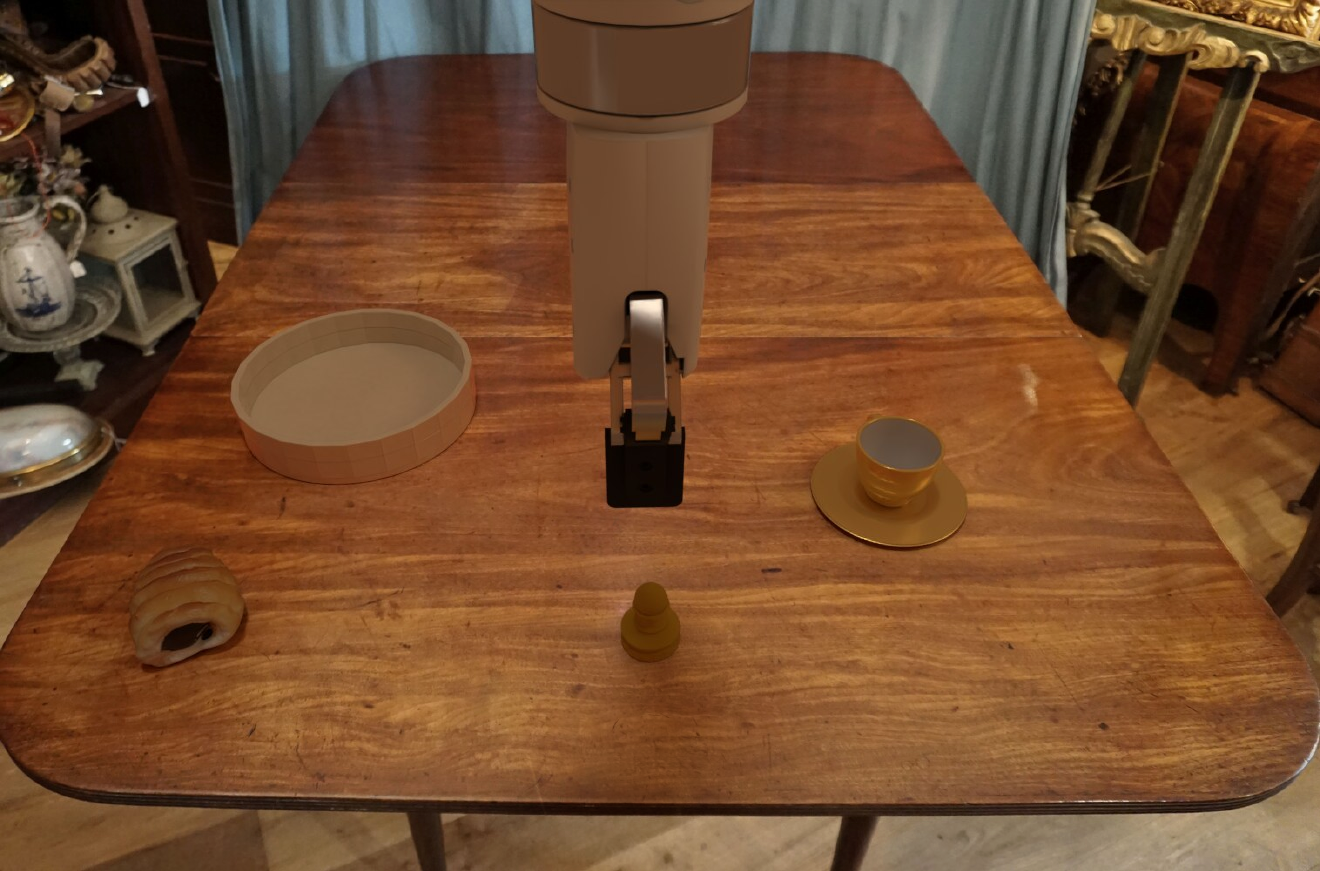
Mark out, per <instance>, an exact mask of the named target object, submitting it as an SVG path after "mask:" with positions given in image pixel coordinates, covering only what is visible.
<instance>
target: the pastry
mask: <svg viewBox="0 0 1320 871" xmlns="http://www.w3.org/2000/svg"><path fill="white" fill-rule="evenodd" d="M238 585H239V584H238V581H237V577H236V575H235V574H233V573H232V572H231V570H230V568H229V567H228V566H227V565H226V564H225V563H224V562H223V561H222V559H221V558H219V557H217V556H216V555H215V554H214V553H213V550H212V549H210V548H208V547H207V546H205V545H203V544H201V543H194V542H192V543H187V544H181V545H178V546H166V547H162V548H161V549H160V550H159V551H158V552H157V553H155V554H154V555H153V556H152V557H151V558H150V560H149V561H148V563H147V564H146V565H145V567H144V568H142V569H141V570H140V571H139V573H138V576H137V581H136V582H135V583H134V585H133V589H132V593H133V595H132V597H131V598H130V600H129V604H128V605H129V606H128V612H129V613H128V614H129V617H130V618H129V620H128V623H127V626H128V631H129V634H130V637H131V639H132V640H133V643H134V647H135V654H134V657H135V658H136V660H138V662H139V663H141V664H145V665H152V666H153V667H156V668H160V667H167V666H170V665H172V664H175V663H178V662H182V661H183V660H186V659H187V658H189V657H192V656H194V655H196V654H197V653H199V652H201V651H203V650H207V649H212V648H215V647H218V646H221V645H224V644H225V643H228V641H229V640H230V639H231V638H233V636H235V634H236V632H237V630H238V629H239V627H240V625H241V621H242V619H243V616H244V610H245V607H246V606H245V605H246V604H245V599H244V598H243V596H242V593H241V591H240V588H239V586H238Z"/></svg>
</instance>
